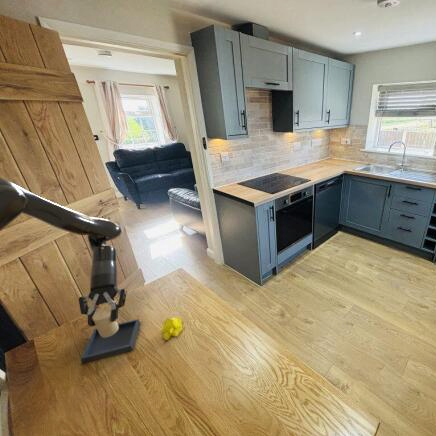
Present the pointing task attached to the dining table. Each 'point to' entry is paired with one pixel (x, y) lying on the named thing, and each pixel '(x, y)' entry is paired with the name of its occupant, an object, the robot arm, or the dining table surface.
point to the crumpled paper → (171, 328)
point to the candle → (105, 322)
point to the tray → (111, 342)
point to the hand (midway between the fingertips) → (103, 323)
